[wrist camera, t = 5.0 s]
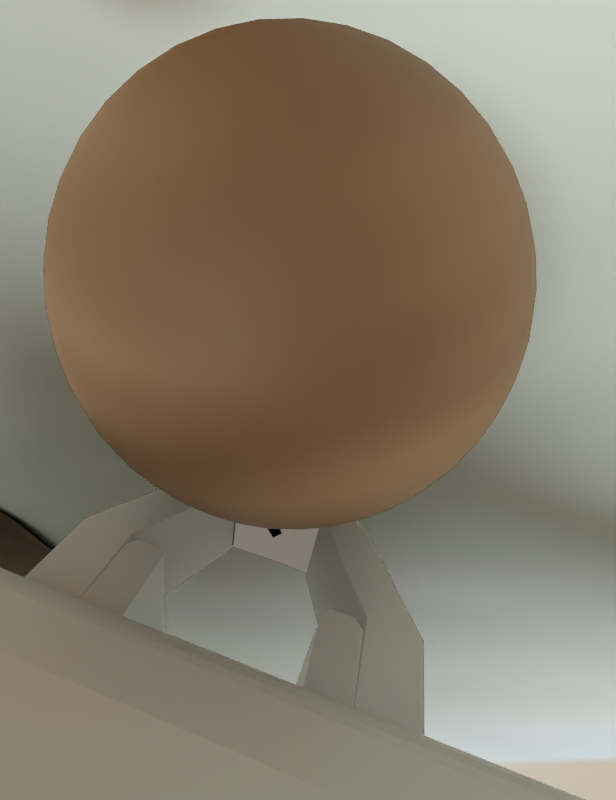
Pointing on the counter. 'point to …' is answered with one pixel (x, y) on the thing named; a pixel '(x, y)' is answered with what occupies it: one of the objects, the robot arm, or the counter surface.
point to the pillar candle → (19, 547)
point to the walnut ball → (289, 273)
